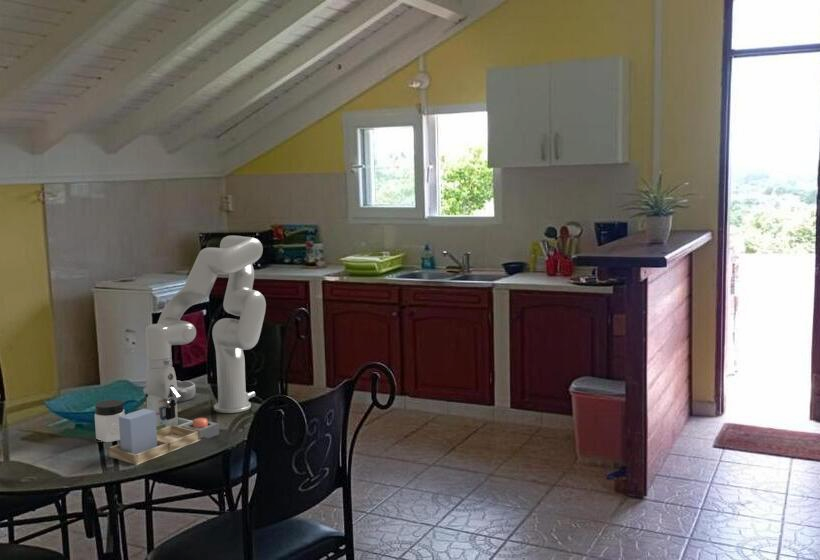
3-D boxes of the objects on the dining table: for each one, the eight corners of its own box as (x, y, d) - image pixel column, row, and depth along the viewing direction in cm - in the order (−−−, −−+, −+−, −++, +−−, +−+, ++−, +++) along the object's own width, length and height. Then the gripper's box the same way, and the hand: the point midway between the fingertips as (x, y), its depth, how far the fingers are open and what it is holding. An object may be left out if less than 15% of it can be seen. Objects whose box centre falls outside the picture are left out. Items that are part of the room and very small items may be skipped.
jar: (99, 447, 252) (97, 409, 250) (93, 440, 259) (90, 402, 257) (129, 441, 257) (127, 404, 255) (122, 434, 263) (120, 398, 262)
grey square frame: (201, 429, 267) (200, 419, 267) (219, 434, 263) (218, 423, 263) (182, 437, 261) (181, 426, 260) (200, 441, 256) (199, 430, 256)
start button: (200, 429, 265) (200, 417, 264) (210, 431, 262) (210, 419, 262) (190, 433, 261) (189, 420, 260) (200, 435, 259) (199, 423, 258)
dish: (190, 403, 296) (189, 389, 296) (151, 403, 297) (150, 389, 296) (200, 391, 311) (200, 378, 310) (163, 392, 311) (163, 379, 310)
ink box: (168, 424, 273) (166, 389, 271) (179, 426, 271) (177, 391, 269) (147, 431, 266) (145, 396, 264) (158, 434, 263) (156, 398, 262)
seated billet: (146, 447, 248) (144, 408, 247) (157, 450, 246) (155, 411, 244) (121, 456, 241) (118, 416, 239) (132, 459, 238) (130, 419, 236)
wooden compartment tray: (172, 436, 262) (171, 424, 261) (201, 443, 255) (200, 431, 254) (107, 459, 242) (106, 447, 241) (137, 468, 235) (136, 456, 234)
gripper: (187, 363, 263) (190, 418, 266) (150, 357, 273) (153, 409, 275) (169, 369, 257) (172, 424, 260) (131, 361, 267) (135, 415, 269)
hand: (162, 416), depth 268 cm, fingers open, 7 cm apart
